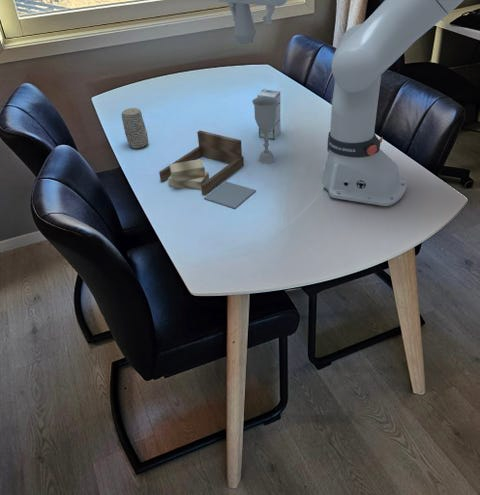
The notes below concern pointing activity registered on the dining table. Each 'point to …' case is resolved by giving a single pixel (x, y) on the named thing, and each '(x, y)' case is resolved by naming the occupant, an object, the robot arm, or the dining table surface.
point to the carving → (134, 128)
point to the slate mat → (230, 195)
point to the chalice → (265, 123)
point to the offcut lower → (189, 182)
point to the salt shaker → (244, 24)
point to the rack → (213, 157)
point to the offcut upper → (187, 170)
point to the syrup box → (277, 126)
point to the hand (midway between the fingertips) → (252, 22)
